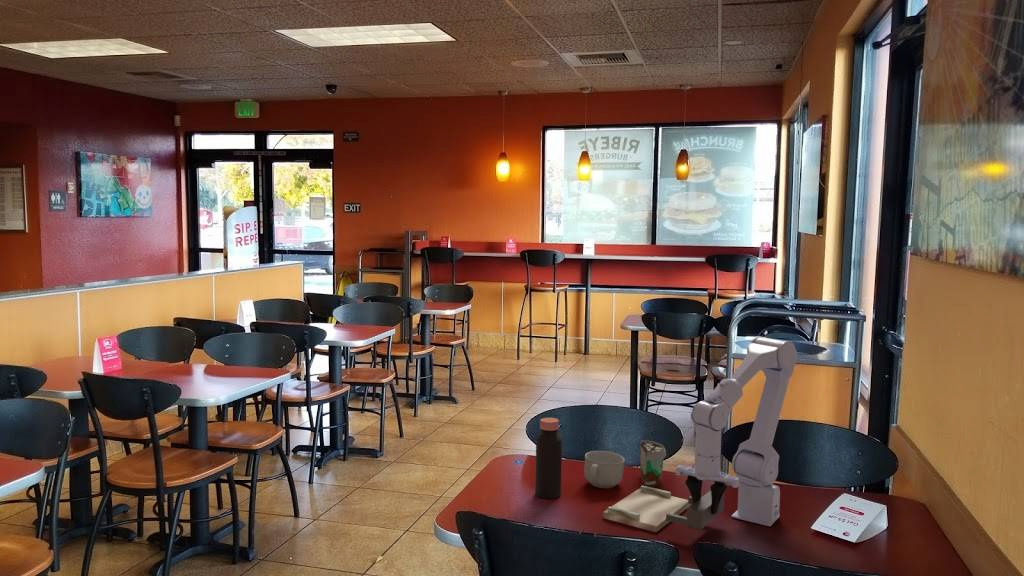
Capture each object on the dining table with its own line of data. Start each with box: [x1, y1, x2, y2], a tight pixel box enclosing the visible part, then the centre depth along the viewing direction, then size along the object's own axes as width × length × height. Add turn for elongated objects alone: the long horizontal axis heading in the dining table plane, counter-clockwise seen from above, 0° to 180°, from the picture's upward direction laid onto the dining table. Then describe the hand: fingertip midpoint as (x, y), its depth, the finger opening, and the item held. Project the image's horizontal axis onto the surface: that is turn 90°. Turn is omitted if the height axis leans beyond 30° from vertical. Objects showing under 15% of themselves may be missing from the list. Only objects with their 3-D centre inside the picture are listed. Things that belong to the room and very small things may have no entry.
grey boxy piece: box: [666, 490, 725, 530], centre depth 179 cm, size 8×14×4 cm, turn 145°
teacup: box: [584, 450, 626, 489], centre depth 207 cm, size 14×11×8 cm
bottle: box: [534, 417, 563, 500], centre depth 200 cm, size 7×7×20 cm
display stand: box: [602, 484, 691, 533], centre depth 190 cm, size 14×20×3 cm
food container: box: [639, 439, 667, 488], centre depth 211 cm, size 12×6×10 cm, turn 179°
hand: (705, 510), depth 178 cm, fingers closed on grey boxy piece, 3 cm apart
